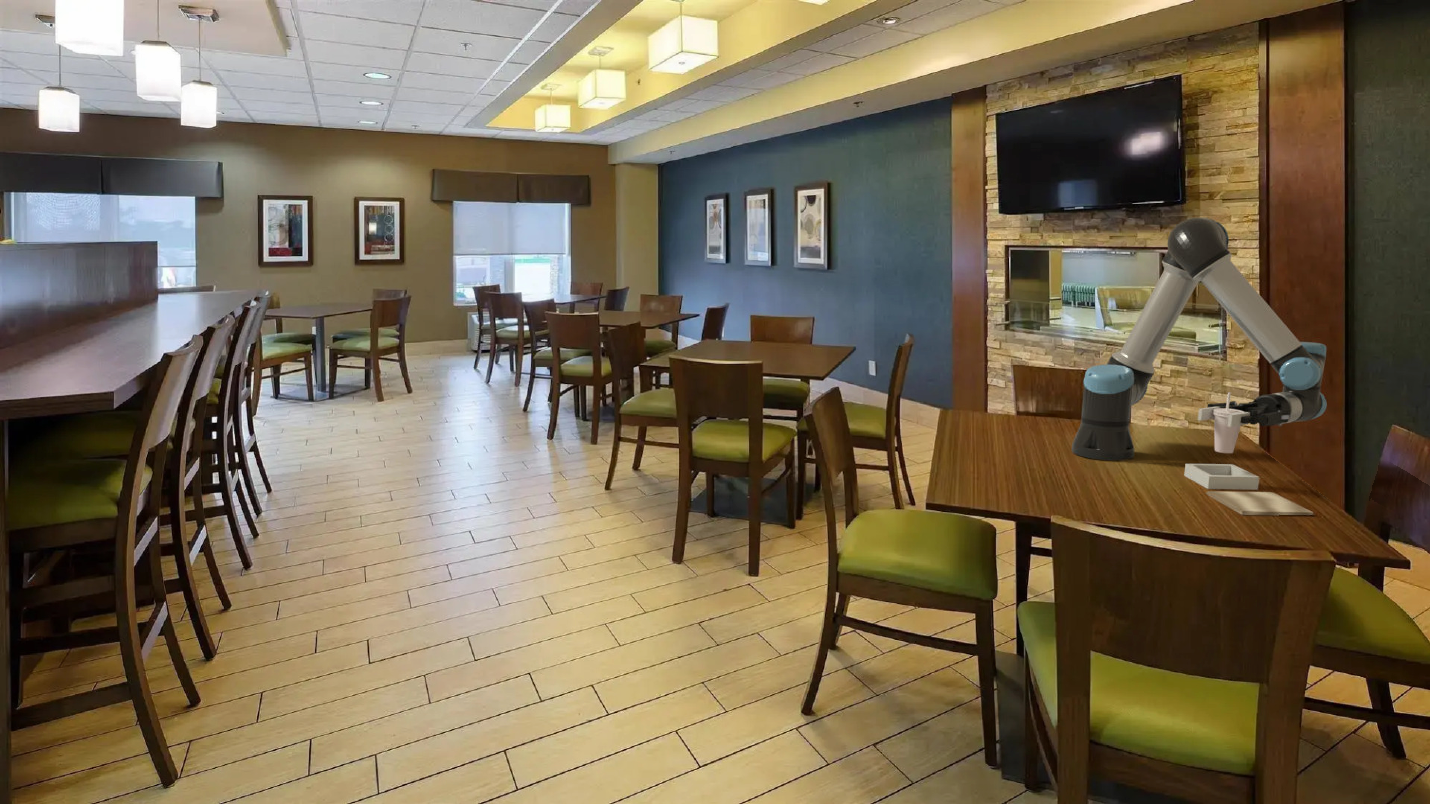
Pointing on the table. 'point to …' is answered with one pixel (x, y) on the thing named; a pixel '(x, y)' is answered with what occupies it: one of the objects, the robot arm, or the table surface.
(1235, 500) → the board
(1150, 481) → the table surface
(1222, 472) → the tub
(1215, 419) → the smoothie
